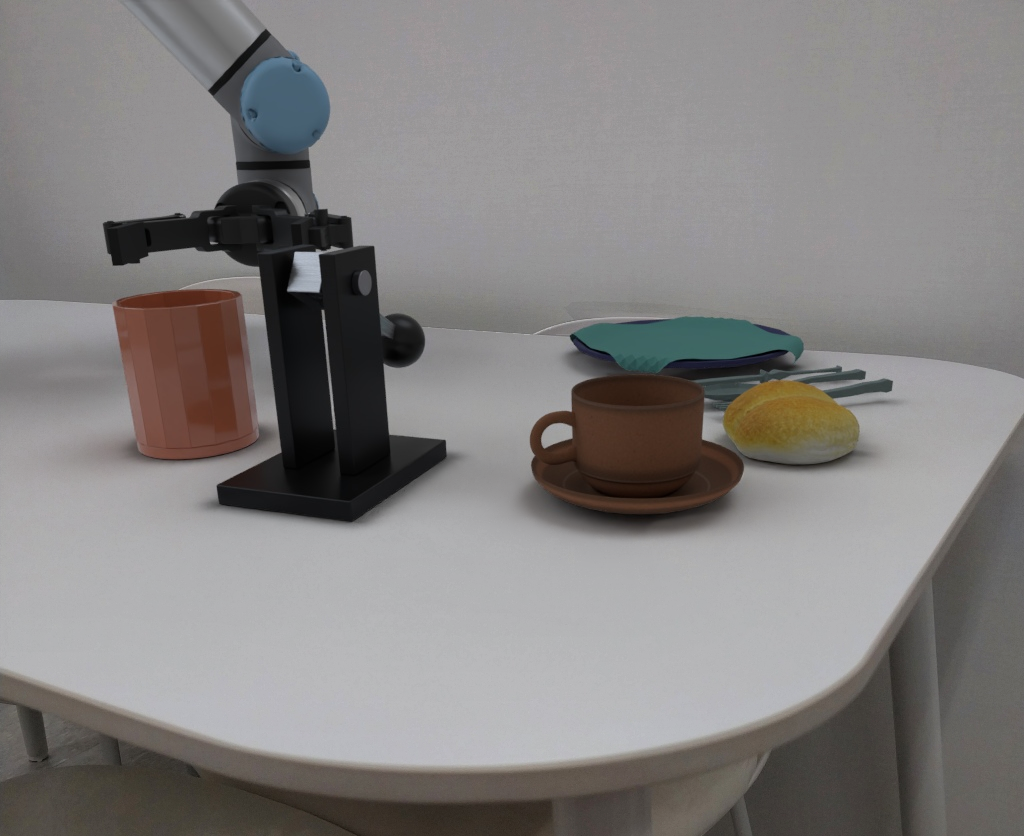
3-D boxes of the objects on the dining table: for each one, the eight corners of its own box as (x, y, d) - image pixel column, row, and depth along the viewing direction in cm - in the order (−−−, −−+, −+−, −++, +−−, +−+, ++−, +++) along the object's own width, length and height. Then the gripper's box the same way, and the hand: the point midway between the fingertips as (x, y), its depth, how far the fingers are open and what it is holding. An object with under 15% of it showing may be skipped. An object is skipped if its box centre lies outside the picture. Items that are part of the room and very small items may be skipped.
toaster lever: (382, 373, 67) (391, 323, 67) (428, 376, 65) (438, 325, 66) (273, 301, 55) (286, 241, 55) (328, 303, 53) (340, 241, 54)
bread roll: (747, 471, 59) (751, 407, 57) (712, 430, 67) (714, 373, 66) (881, 465, 59) (888, 401, 58) (829, 424, 68) (834, 368, 66)
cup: (111, 453, 66) (84, 306, 63) (191, 421, 73) (170, 287, 70) (208, 464, 63) (185, 310, 60) (282, 430, 70) (265, 290, 67)
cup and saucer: (621, 552, 48) (622, 432, 46) (492, 487, 58) (488, 386, 55) (787, 500, 54) (796, 392, 52) (646, 449, 64) (648, 356, 61)
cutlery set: (728, 331, 100) (730, 309, 99) (918, 400, 73) (922, 370, 72) (545, 347, 95) (544, 324, 94) (675, 427, 68) (676, 395, 67)
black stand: (329, 445, 67) (308, 237, 62) (447, 457, 63) (435, 239, 58) (218, 504, 56) (182, 260, 51) (352, 522, 53) (327, 264, 48)
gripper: (393, 259, 94) (376, 291, 75) (134, 266, 93) (47, 299, 74) (388, 178, 92) (369, 188, 72) (122, 184, 91) (27, 196, 71)
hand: (206, 245), depth 73 cm, fingers open, 13 cm apart
